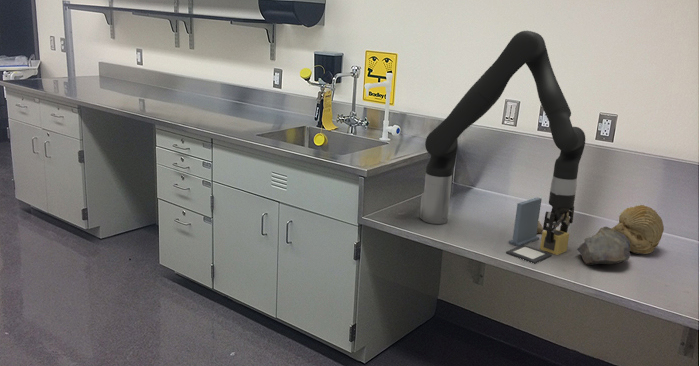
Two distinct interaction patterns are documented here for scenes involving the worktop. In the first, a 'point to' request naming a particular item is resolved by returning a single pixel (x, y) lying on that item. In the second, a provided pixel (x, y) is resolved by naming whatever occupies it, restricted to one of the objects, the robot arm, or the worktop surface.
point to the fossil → (641, 228)
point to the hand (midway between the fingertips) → (556, 239)
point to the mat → (528, 254)
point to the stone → (605, 247)
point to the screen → (526, 222)
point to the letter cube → (555, 242)
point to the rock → (539, 228)
